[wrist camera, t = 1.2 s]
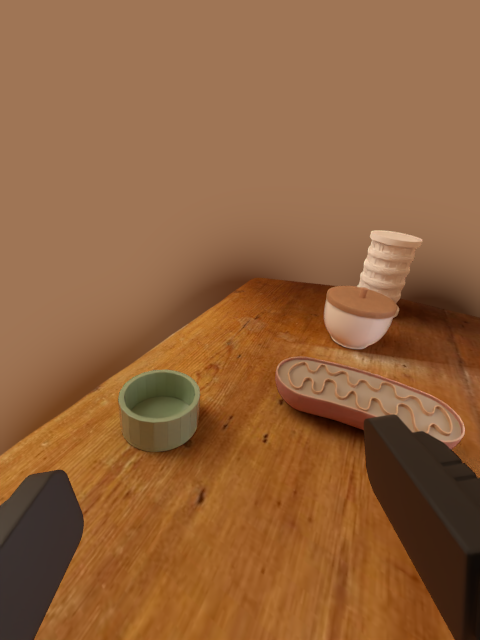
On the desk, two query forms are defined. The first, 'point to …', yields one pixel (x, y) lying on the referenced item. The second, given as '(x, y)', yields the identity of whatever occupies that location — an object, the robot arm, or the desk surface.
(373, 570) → the desk surface
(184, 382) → the can holder
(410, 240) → the decorative container
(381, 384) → the mitochondrion model
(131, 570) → the desk surface
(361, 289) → the lidded bowl
